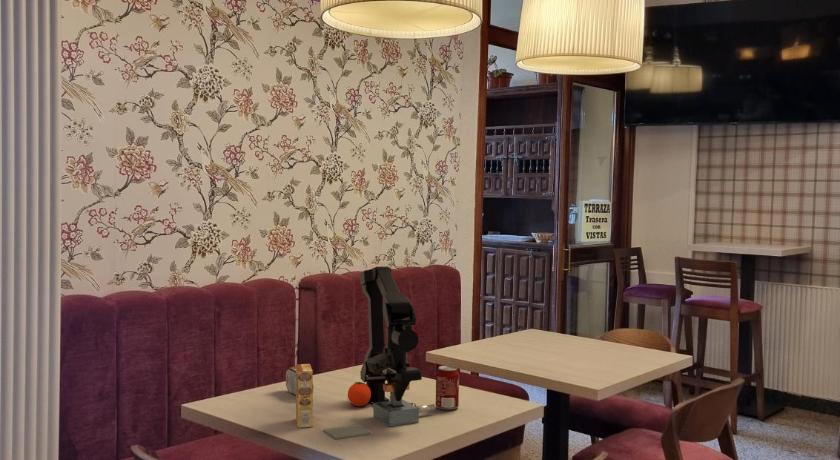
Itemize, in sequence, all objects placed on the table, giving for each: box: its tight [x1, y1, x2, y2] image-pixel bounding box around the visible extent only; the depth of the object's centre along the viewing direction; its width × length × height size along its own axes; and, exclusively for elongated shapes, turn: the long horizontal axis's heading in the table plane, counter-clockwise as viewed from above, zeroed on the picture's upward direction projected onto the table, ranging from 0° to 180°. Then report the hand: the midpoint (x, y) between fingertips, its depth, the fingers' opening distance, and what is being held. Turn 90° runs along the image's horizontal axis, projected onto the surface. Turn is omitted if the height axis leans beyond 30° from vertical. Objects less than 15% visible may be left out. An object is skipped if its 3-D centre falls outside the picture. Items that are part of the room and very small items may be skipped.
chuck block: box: [372, 399, 436, 427], centre depth 224 cm, size 10×17×4 cm, turn 119°
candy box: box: [295, 363, 314, 428], centre depth 217 cm, size 9×4×15 cm, turn 13°
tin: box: [284, 365, 296, 397], centre depth 246 cm, size 15×3×8 cm, turn 34°
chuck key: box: [383, 382, 411, 408], centre depth 222 cm, size 2×7×8 cm, turn 119°
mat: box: [323, 423, 372, 440], centre depth 209 cm, size 8×10×1 cm
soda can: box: [435, 365, 460, 411], centre depth 235 cm, size 7×7×12 cm
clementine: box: [347, 381, 371, 407], centre depth 236 cm, size 8×7×7 cm
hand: (396, 399), depth 222 cm, fingers closed on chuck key, 2 cm apart
